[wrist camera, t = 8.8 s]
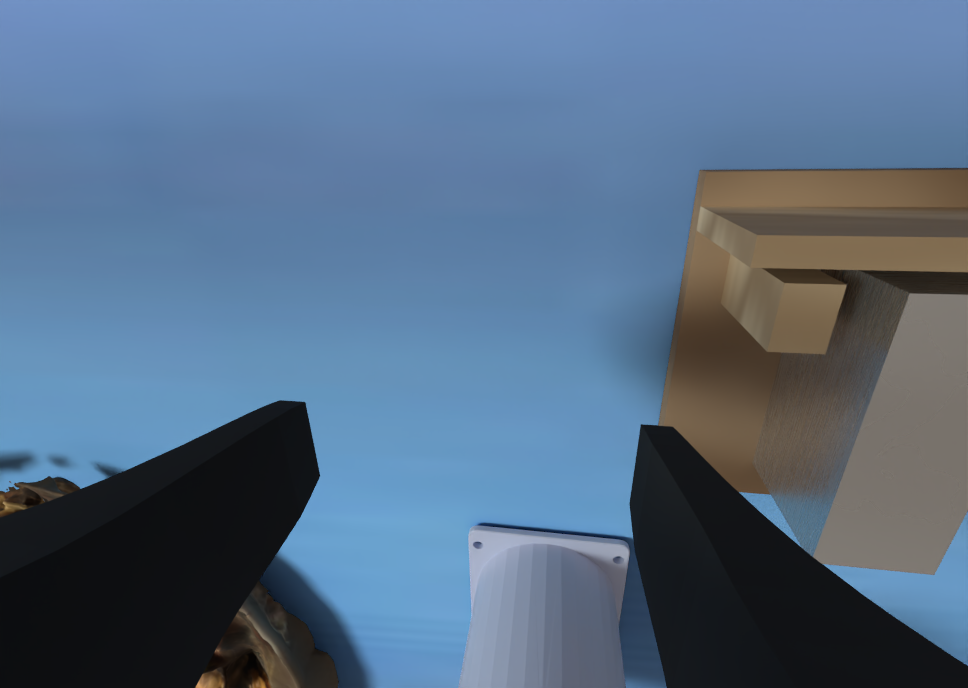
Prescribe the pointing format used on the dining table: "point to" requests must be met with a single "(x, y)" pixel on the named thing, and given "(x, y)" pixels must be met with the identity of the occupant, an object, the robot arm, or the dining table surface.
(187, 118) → the dining table surface
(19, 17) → the dining table surface
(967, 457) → the gray rectangular block
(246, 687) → the food dish
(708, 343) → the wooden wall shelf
